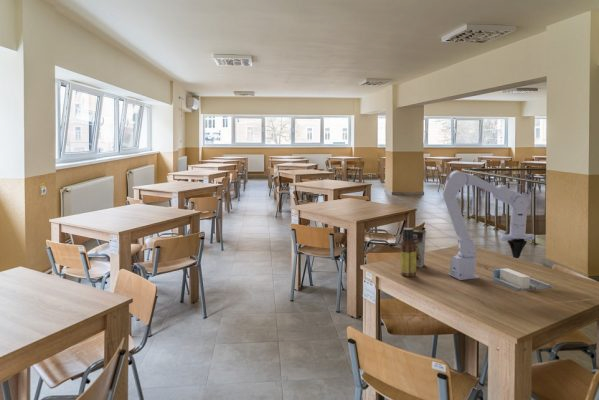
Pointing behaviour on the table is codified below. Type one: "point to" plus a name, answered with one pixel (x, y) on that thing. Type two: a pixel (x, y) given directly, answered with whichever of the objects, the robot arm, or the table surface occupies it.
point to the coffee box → (419, 246)
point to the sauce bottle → (408, 254)
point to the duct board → (533, 286)
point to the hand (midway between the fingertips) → (516, 257)
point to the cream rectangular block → (515, 278)
